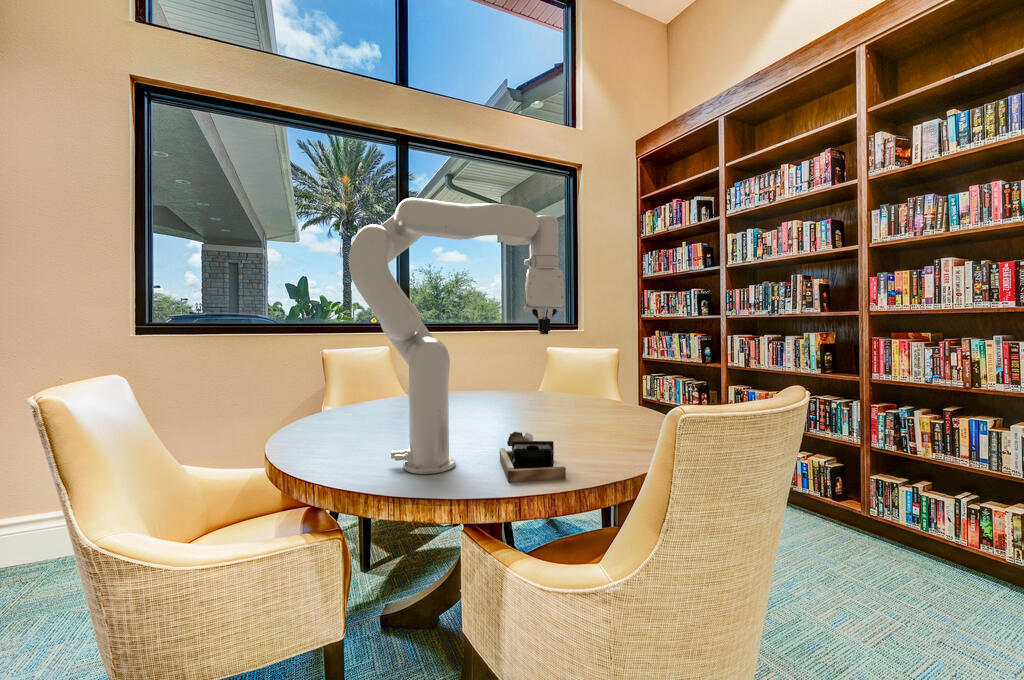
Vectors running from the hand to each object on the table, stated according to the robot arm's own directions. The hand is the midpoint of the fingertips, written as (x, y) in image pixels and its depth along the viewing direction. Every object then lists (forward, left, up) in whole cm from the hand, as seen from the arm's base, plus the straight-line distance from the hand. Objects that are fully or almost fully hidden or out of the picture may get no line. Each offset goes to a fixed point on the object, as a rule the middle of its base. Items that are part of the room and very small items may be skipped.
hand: (544, 334), depth 117 cm
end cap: (-6, -11, -32) cm, 35 cm away
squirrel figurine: (-7, +1, -32) cm, 33 cm away
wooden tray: (-6, -11, -32) cm, 35 cm away
